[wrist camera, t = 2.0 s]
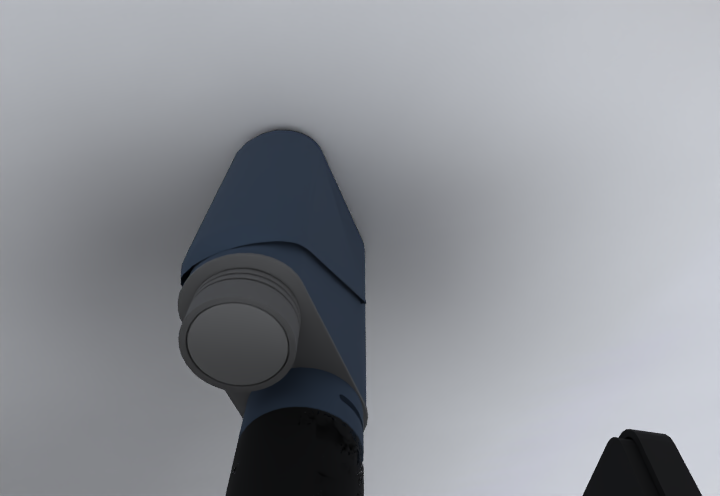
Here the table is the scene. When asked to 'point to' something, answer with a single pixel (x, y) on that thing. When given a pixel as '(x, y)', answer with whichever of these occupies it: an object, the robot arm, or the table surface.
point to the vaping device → (282, 319)
